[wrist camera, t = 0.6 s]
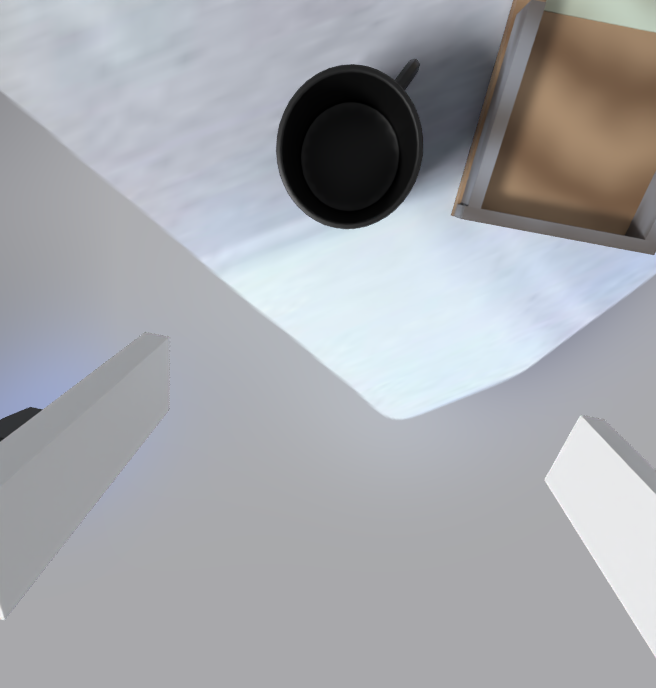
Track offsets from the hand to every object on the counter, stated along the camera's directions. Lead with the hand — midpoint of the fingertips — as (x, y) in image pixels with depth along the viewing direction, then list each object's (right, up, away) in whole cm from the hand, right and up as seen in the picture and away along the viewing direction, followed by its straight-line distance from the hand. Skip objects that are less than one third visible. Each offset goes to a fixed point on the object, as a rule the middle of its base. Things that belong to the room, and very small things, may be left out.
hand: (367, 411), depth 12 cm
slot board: (+20, +23, +17) cm, 35 cm away
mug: (+1, +19, +20) cm, 28 cm away
